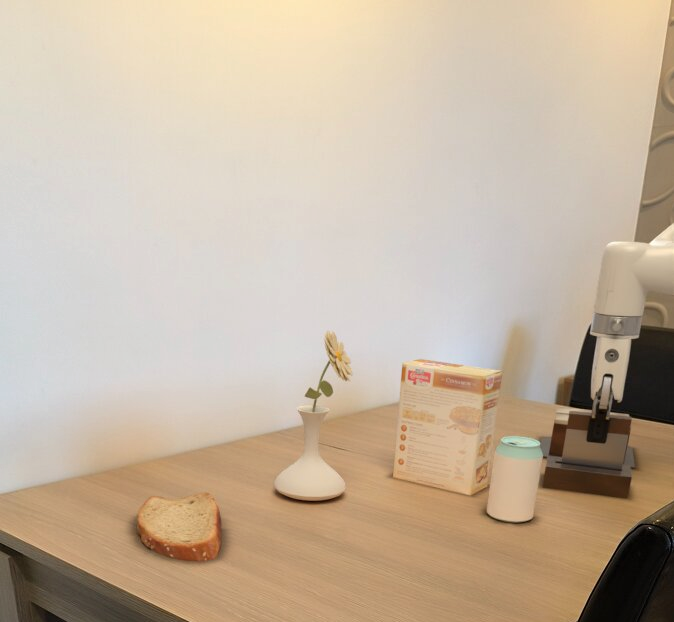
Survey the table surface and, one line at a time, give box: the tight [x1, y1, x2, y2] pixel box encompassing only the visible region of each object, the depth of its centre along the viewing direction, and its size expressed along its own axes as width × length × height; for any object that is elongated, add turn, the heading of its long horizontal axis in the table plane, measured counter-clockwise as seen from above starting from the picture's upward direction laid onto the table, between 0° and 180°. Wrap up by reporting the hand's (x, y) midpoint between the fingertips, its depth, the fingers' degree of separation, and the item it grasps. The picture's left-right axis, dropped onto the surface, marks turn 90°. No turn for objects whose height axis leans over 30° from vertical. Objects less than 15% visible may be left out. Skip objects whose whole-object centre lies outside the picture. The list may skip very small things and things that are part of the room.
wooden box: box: [540, 406, 636, 470], centre depth 162 cm, size 18×16×7 cm
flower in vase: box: [273, 330, 354, 502], centre depth 127 cm, size 13×11×25 cm
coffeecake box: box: [392, 358, 503, 496], centre depth 137 cm, size 15×7×20 cm, turn 57°
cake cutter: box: [561, 411, 633, 471], centre depth 140 cm, size 10×2×12 cm, turn 74°
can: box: [486, 435, 544, 524], centre depth 124 cm, size 7×7×12 cm
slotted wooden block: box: [541, 455, 633, 500], centre depth 142 cm, size 14×7×4 cm, turn 74°
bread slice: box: [136, 491, 222, 563], centre depth 114 cm, size 18×18×4 cm
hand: (595, 439), depth 139 cm, fingers closed on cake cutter, 2 cm apart
